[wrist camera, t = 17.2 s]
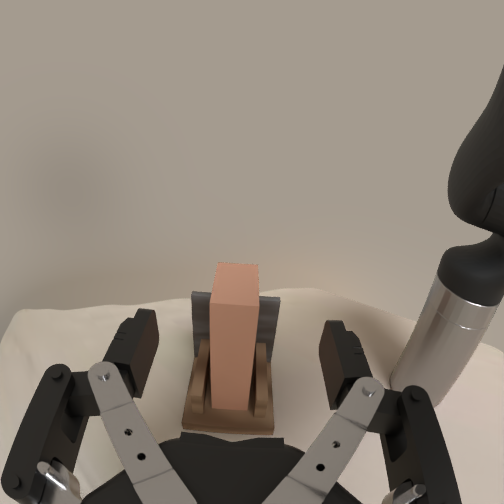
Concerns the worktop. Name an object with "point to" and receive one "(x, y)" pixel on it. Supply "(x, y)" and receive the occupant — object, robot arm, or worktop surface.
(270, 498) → the robot arm
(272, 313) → the rack
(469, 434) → the worktop surface
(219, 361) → the salmon pink rectangular block
